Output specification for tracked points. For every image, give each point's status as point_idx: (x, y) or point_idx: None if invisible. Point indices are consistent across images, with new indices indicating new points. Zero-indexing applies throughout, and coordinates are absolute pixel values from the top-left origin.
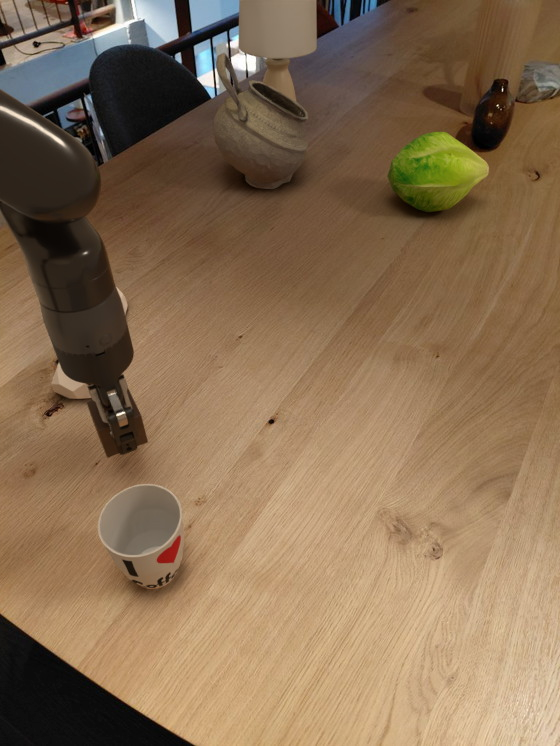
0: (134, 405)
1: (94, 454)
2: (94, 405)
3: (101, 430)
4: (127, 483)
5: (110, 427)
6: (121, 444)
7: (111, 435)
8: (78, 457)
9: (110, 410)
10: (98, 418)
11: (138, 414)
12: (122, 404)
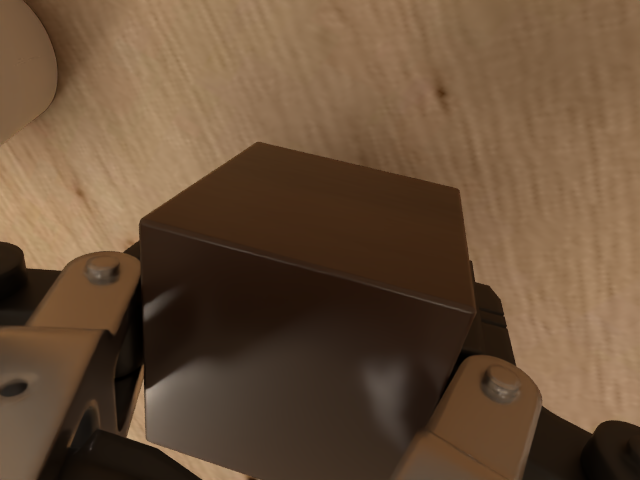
0: (228, 463)
1: (490, 107)
2: (392, 330)
3: (143, 238)
4: (292, 136)
5: (36, 309)
6: (134, 247)
7: (91, 259)
8: (528, 45)
9: (79, 426)
10: (249, 282)
11: (153, 438)
12: (275, 436)
